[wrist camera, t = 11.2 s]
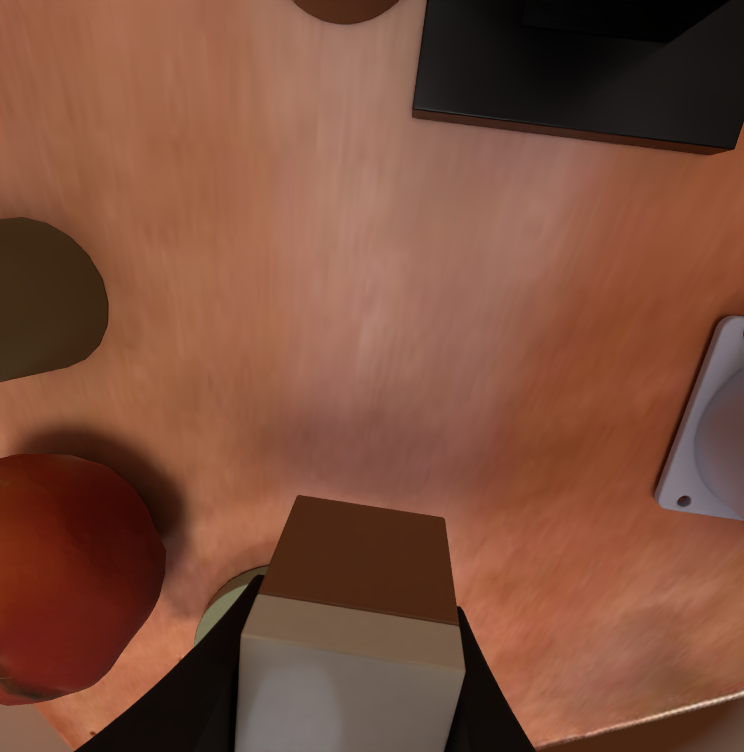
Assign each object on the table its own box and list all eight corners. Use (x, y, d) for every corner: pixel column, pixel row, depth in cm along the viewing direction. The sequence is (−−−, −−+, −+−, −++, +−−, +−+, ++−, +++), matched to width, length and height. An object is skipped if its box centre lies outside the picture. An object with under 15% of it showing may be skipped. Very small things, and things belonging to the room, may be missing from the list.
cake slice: (445, 516, 12) (466, 671, 8) (414, 657, 14) (419, 850, 10) (297, 493, 12) (240, 634, 8) (283, 635, 14) (229, 817, 10)
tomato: (-23, 425, 20) (-277, 542, 13) (176, 423, 20) (32, 545, 12) (33, 593, 23) (-148, 770, 16) (208, 596, 23) (108, 784, 15)
